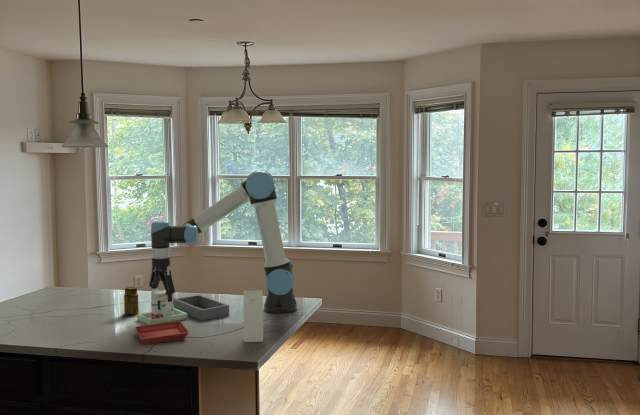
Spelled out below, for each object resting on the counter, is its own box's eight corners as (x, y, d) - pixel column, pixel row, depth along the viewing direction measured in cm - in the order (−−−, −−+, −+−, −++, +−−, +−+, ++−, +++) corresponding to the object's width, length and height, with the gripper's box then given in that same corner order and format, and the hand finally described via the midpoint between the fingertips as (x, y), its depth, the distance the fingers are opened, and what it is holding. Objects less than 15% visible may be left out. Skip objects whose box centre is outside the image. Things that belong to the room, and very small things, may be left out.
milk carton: (244, 337, 230) (244, 288, 228) (263, 336, 230) (262, 288, 229) (244, 342, 223) (243, 292, 221) (263, 342, 223) (262, 292, 222)
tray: (187, 319, 257) (187, 313, 256) (150, 326, 246) (150, 320, 246) (174, 313, 266) (173, 307, 266) (137, 320, 256) (137, 314, 255)
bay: (229, 315, 263) (229, 305, 263) (202, 320, 254) (201, 310, 254) (199, 304, 284) (199, 294, 283) (173, 308, 275) (173, 299, 275)
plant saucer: (140, 347, 220) (140, 338, 219) (134, 334, 236) (134, 326, 236) (189, 340, 227) (189, 332, 227) (180, 328, 243) (180, 320, 243)
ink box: (155, 321, 251) (154, 293, 250) (151, 318, 255) (150, 291, 254) (174, 317, 256) (174, 291, 255) (170, 315, 260) (169, 289, 259)
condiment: (139, 311, 270) (138, 285, 269) (140, 316, 262) (139, 289, 261) (122, 313, 267) (121, 287, 266) (123, 318, 259) (122, 290, 259)
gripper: (140, 254, 261) (142, 302, 263) (165, 262, 242) (166, 313, 244) (156, 253, 266) (158, 299, 268) (182, 259, 247) (183, 310, 248)
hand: (162, 306), depth 256 cm, fingers open, 13 cm apart
